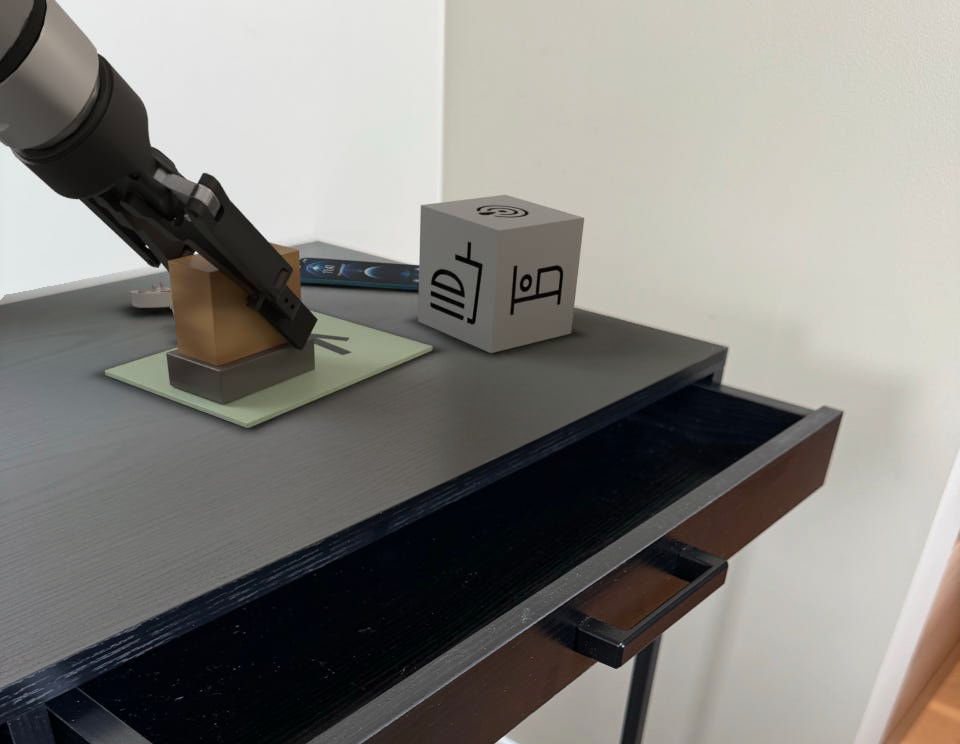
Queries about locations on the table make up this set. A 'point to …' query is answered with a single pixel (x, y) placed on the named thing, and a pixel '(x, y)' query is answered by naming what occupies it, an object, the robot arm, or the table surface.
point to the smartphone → (359, 273)
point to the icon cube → (498, 270)
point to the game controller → (153, 297)
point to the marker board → (338, 364)
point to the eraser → (228, 334)
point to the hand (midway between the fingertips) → (275, 324)
